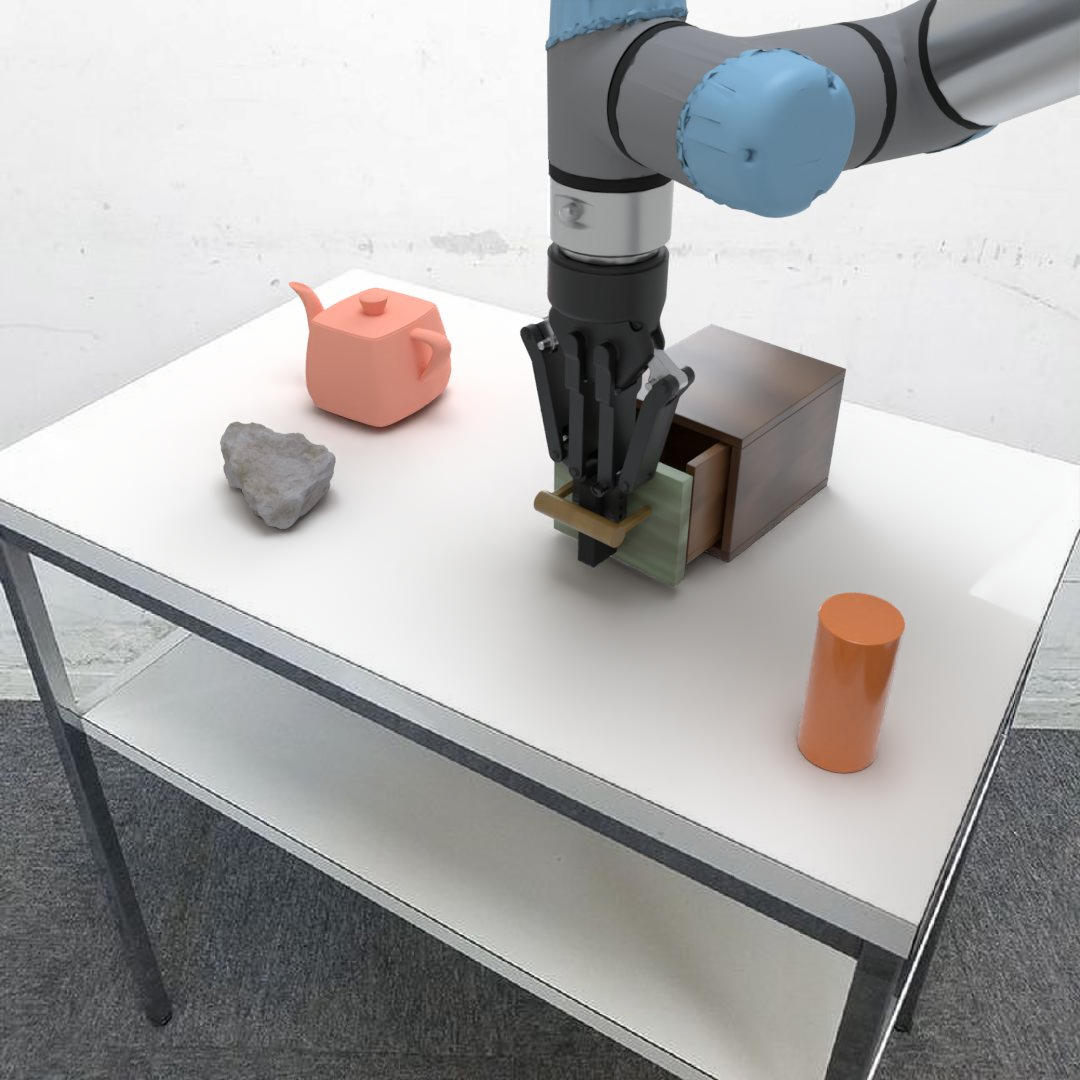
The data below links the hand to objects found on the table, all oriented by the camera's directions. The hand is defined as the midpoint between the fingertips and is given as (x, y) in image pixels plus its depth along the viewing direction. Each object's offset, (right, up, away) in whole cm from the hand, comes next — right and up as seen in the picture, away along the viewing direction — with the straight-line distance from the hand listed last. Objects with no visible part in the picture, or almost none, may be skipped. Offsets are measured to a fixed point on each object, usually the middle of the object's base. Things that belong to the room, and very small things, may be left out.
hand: (597, 555), depth 86 cm
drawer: (+4, +2, +4) cm, 6 cm away
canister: (+14, -12, -13) cm, 22 cm away
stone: (-25, +4, +10) cm, 28 cm away
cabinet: (+10, +5, +11) cm, 15 cm away
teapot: (-19, +14, +24) cm, 34 cm away
